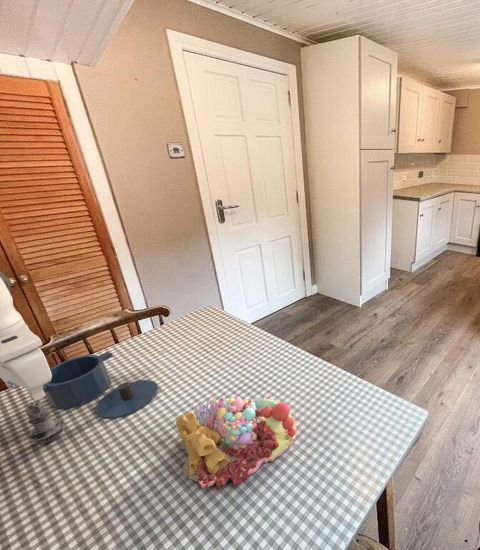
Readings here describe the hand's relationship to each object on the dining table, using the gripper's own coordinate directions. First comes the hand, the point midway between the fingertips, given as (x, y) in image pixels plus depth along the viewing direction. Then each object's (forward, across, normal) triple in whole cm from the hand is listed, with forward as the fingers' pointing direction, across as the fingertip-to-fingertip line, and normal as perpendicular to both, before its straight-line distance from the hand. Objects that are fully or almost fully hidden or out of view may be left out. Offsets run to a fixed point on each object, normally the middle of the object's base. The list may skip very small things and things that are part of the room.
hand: (26, 391), depth 66 cm
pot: (+15, -11, +12) cm, 22 cm away
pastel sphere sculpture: (+15, +41, +17) cm, 47 cm away
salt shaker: (+15, 0, 0) cm, 15 cm away
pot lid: (+14, +4, +15) cm, 21 cm away
